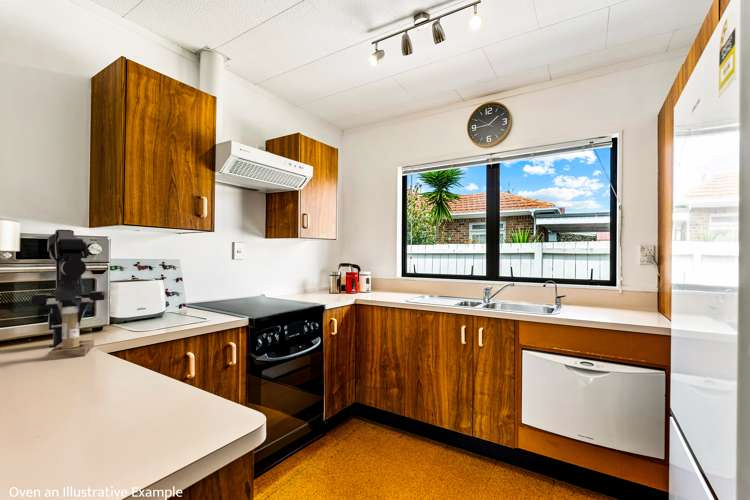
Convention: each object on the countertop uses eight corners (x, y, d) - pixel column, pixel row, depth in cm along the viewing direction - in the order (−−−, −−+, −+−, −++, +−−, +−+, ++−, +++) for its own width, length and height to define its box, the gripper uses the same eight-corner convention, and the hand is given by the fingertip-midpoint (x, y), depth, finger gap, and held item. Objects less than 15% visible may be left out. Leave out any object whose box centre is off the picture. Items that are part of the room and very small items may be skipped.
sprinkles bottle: (78, 348, 118) (78, 307, 118) (60, 350, 116) (60, 308, 116) (80, 345, 122) (80, 305, 122) (62, 347, 120) (62, 306, 120)
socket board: (94, 346, 131) (94, 339, 131) (84, 355, 117) (84, 348, 117) (61, 349, 126) (61, 342, 126) (48, 360, 113) (48, 352, 113)
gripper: (23, 278, 108) (23, 330, 107) (101, 276, 117) (101, 324, 117) (36, 276, 117) (35, 324, 117) (106, 274, 127) (106, 319, 126)
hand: (70, 323), depth 119 cm, fingers closed on sprinkles bottle, 4 cm apart
